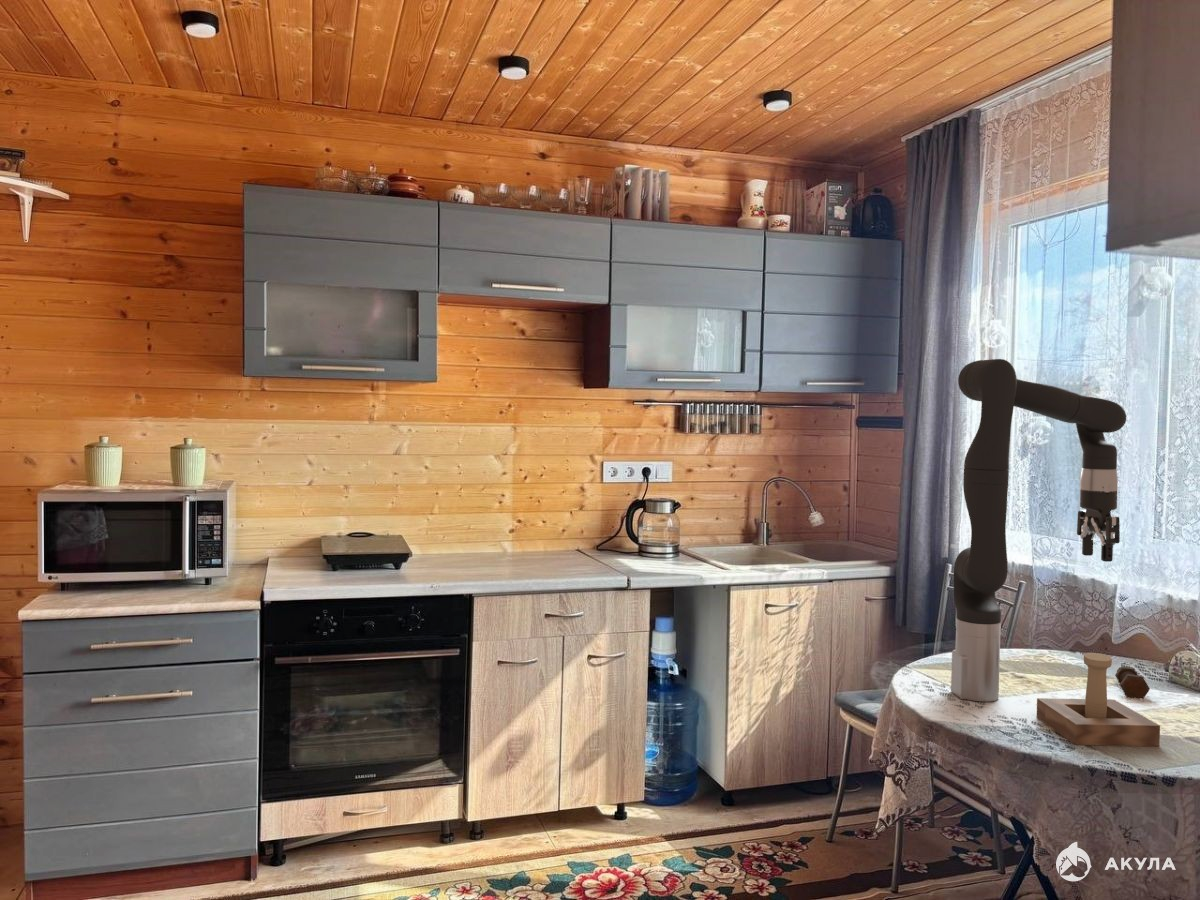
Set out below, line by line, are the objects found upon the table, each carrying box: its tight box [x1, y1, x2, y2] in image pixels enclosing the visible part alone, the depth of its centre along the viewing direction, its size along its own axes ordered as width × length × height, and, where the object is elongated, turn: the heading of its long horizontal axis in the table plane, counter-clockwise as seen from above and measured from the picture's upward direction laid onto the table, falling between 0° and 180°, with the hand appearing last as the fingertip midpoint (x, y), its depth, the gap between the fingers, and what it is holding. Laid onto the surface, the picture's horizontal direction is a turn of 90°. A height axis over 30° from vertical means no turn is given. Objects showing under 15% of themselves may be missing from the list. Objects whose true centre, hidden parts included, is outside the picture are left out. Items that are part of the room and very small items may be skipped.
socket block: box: [1036, 697, 1161, 747], centre depth 183 cm, size 16×16×4 cm
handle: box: [1083, 652, 1113, 718], centre depth 183 cm, size 5×6×15 cm
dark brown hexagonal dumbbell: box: [1114, 666, 1151, 700], centre depth 212 cm, size 6×5×15 cm
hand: (1096, 558), depth 211 cm, fingers open, 8 cm apart
